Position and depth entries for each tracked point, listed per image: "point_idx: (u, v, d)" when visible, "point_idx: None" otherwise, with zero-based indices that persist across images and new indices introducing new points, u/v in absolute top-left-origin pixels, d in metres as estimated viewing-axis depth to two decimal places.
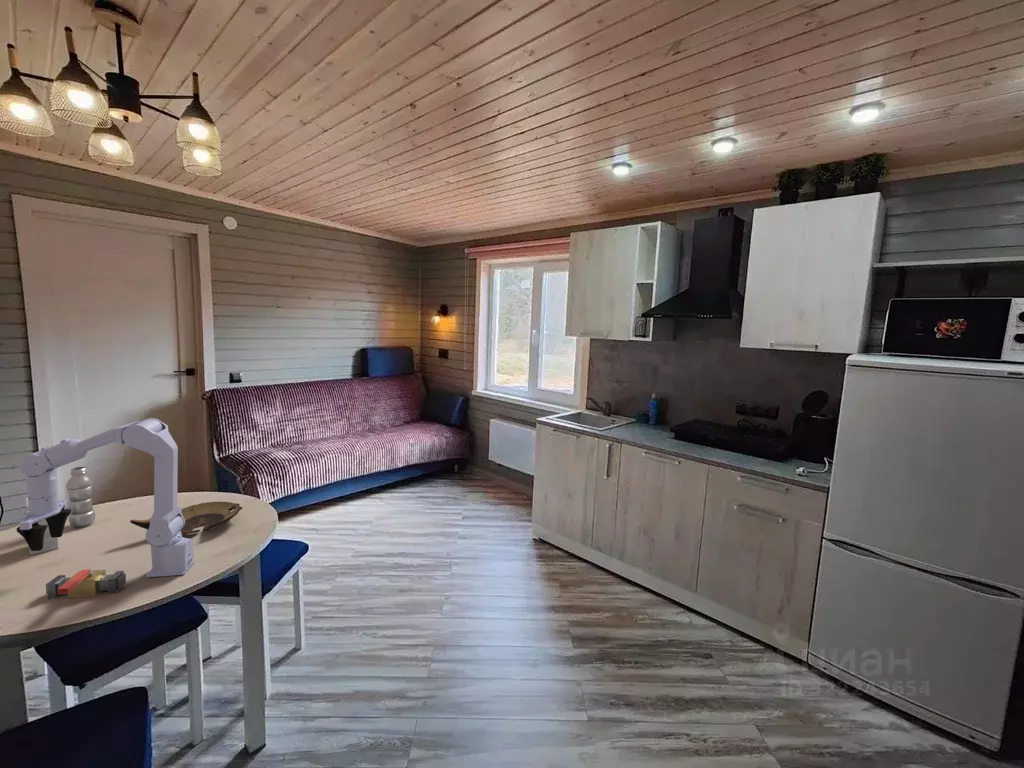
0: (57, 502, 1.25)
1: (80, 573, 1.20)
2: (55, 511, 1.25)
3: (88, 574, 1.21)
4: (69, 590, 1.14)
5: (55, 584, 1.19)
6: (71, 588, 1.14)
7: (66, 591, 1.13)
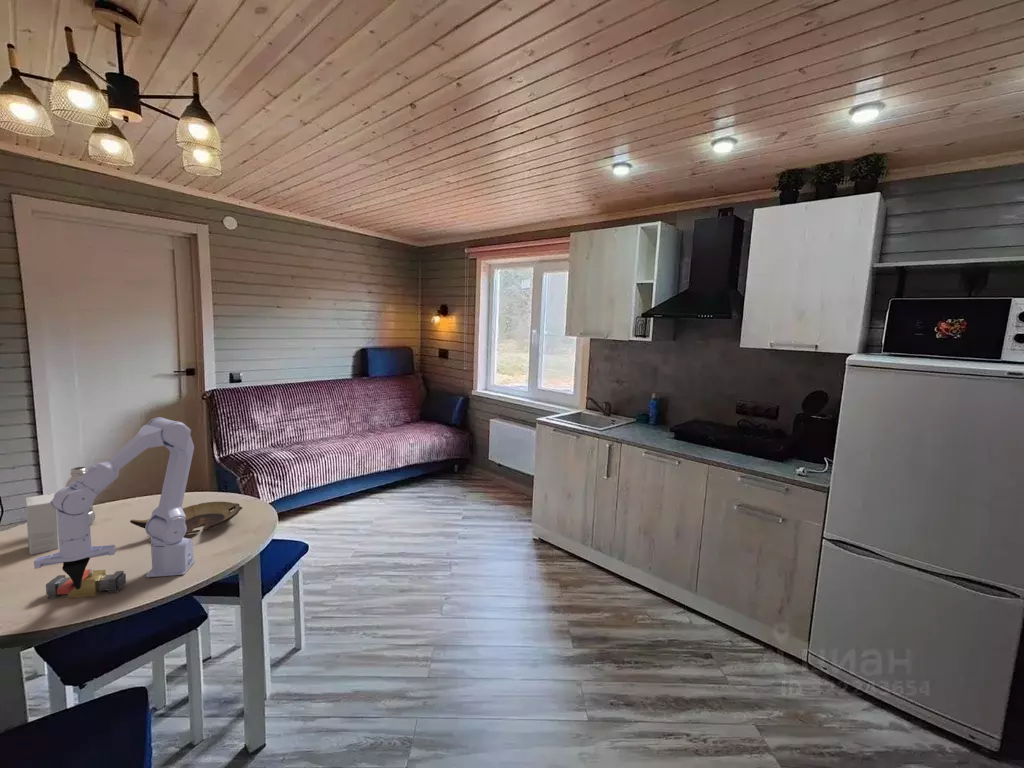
0: (75, 549, 1.12)
1: None
2: (69, 558, 1.12)
3: (88, 574, 1.21)
4: (68, 590, 1.14)
5: (55, 584, 1.19)
6: (70, 588, 1.14)
7: (65, 591, 1.13)
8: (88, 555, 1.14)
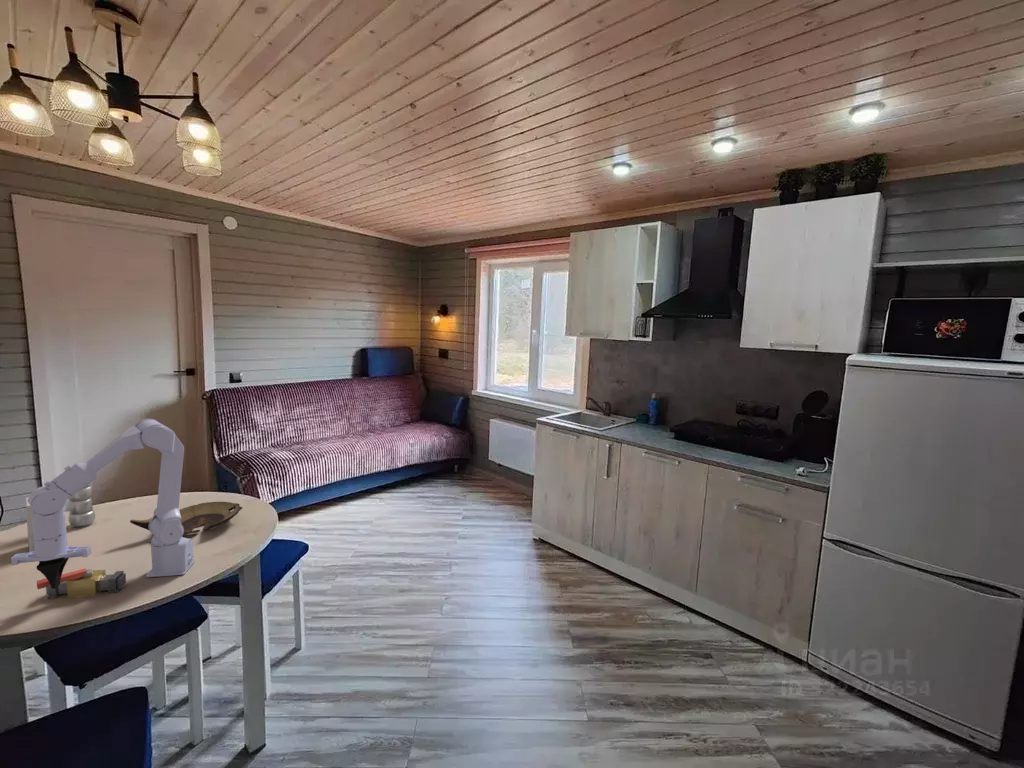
0: (47, 549, 1.12)
1: (76, 571, 1.20)
2: (41, 557, 1.12)
3: (82, 575, 1.20)
4: (40, 586, 1.15)
5: None
6: (44, 585, 1.15)
7: (37, 586, 1.14)
8: (60, 556, 1.13)
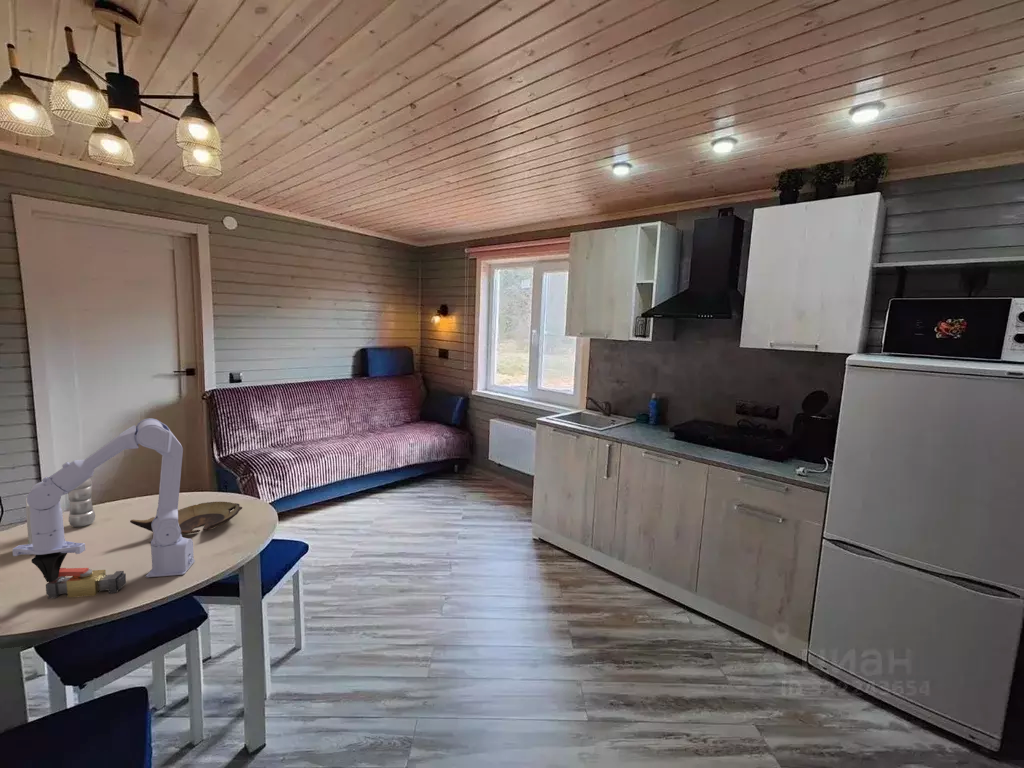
0: (41, 543, 1.14)
1: (78, 569, 1.21)
2: (36, 551, 1.14)
3: (79, 575, 1.21)
4: None
5: (55, 584, 1.19)
6: None
7: None
8: (54, 551, 1.15)
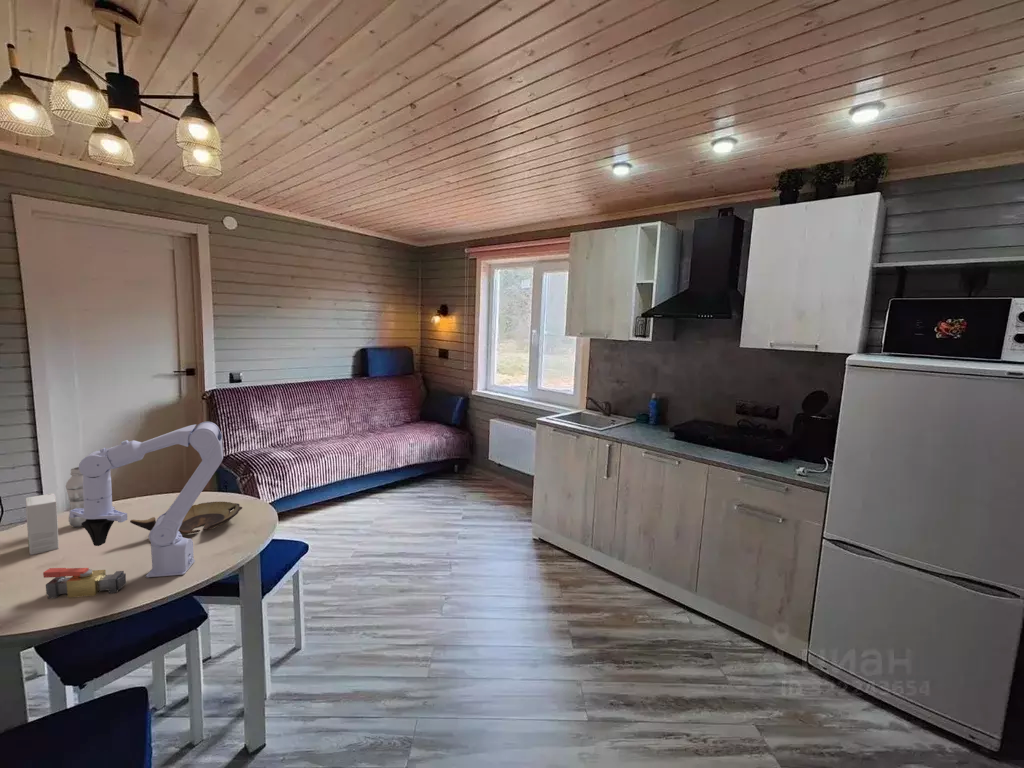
0: (90, 508, 1.22)
1: (78, 569, 1.21)
2: (85, 515, 1.22)
3: (79, 575, 1.21)
4: (45, 575, 1.19)
5: (55, 584, 1.19)
6: (48, 575, 1.19)
7: None
8: (99, 517, 1.23)
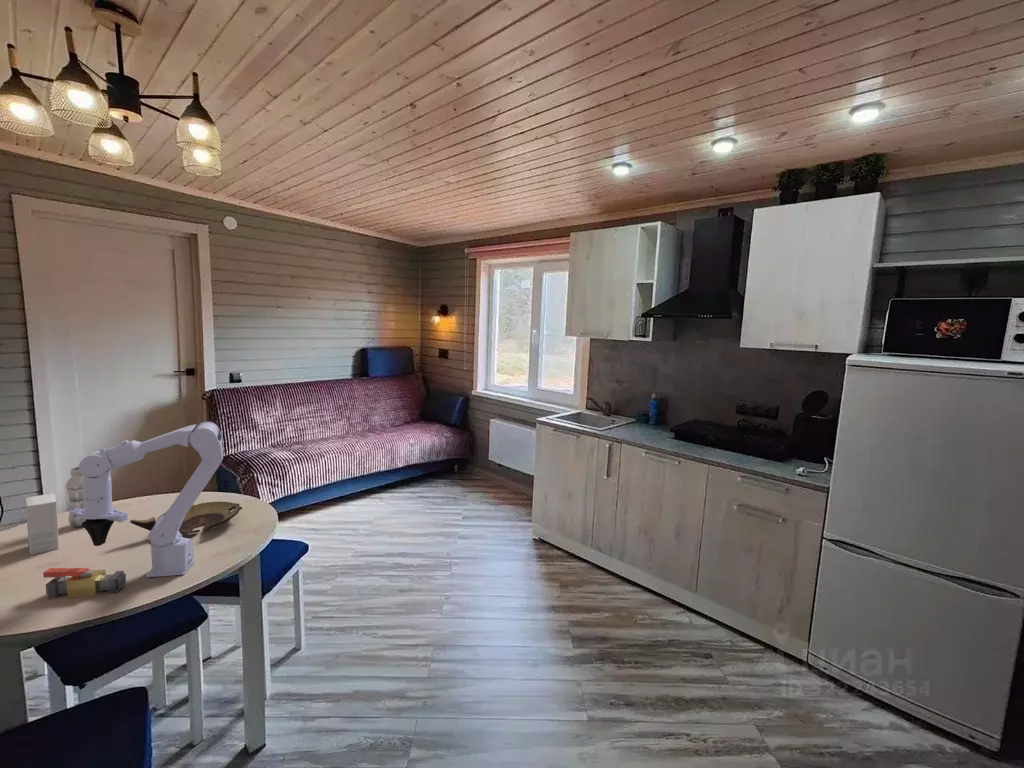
0: (90, 508, 1.22)
1: (78, 569, 1.21)
2: (85, 515, 1.22)
3: (79, 575, 1.21)
4: (45, 575, 1.19)
5: (55, 584, 1.19)
6: (48, 575, 1.19)
7: None
8: (99, 517, 1.23)
